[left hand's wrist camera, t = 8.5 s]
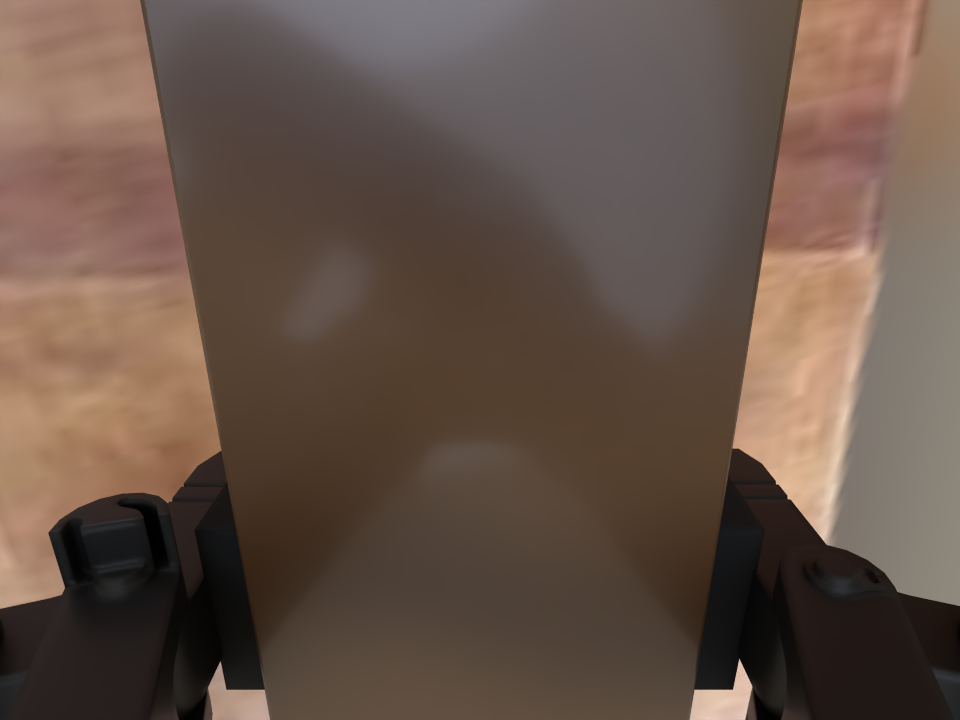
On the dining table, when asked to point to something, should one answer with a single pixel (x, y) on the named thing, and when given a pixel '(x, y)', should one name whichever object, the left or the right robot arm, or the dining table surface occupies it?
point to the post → (475, 333)
